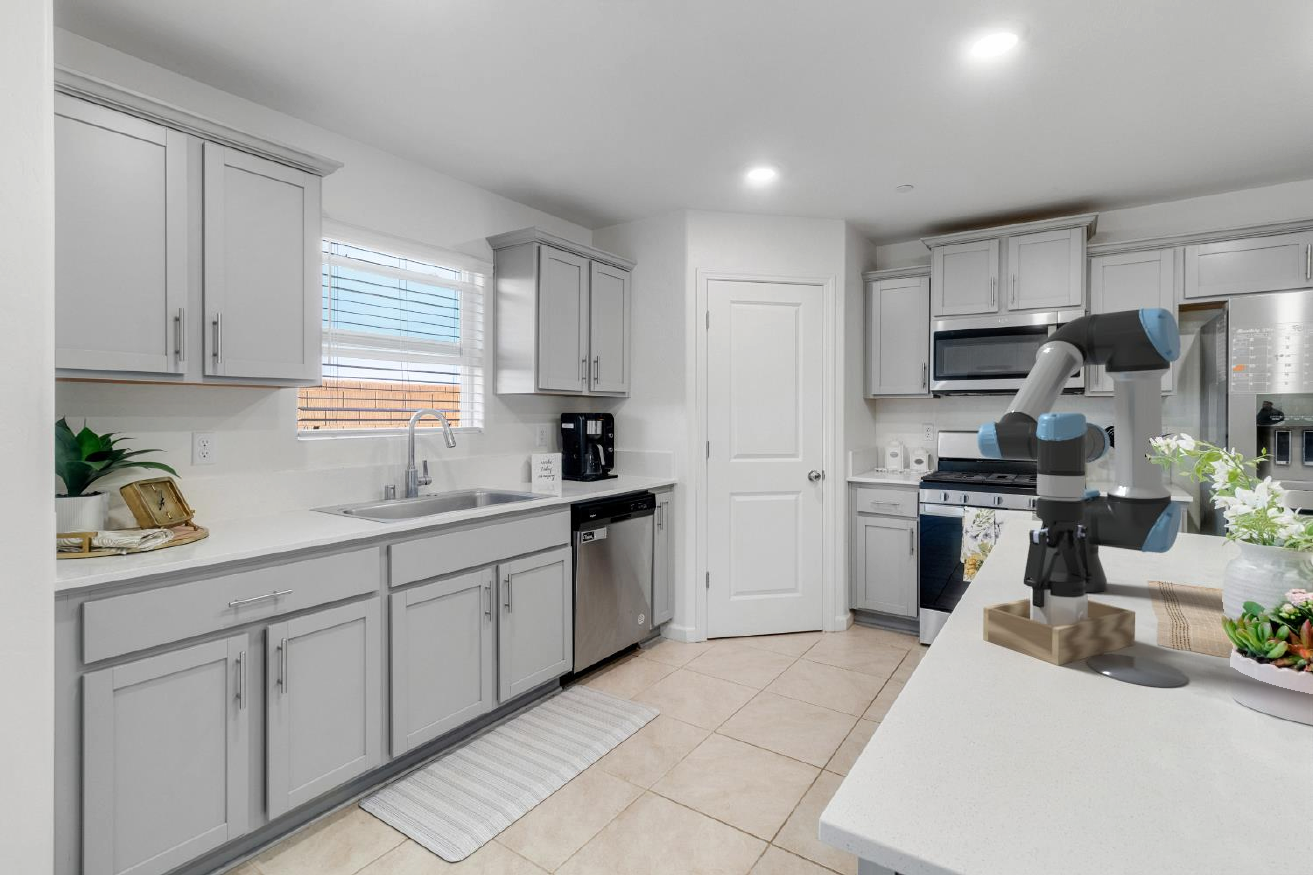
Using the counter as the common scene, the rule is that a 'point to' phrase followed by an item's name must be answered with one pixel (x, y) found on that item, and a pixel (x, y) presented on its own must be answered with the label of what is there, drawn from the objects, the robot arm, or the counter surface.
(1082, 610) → the jar
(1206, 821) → the counter surface
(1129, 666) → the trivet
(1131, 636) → the frame
